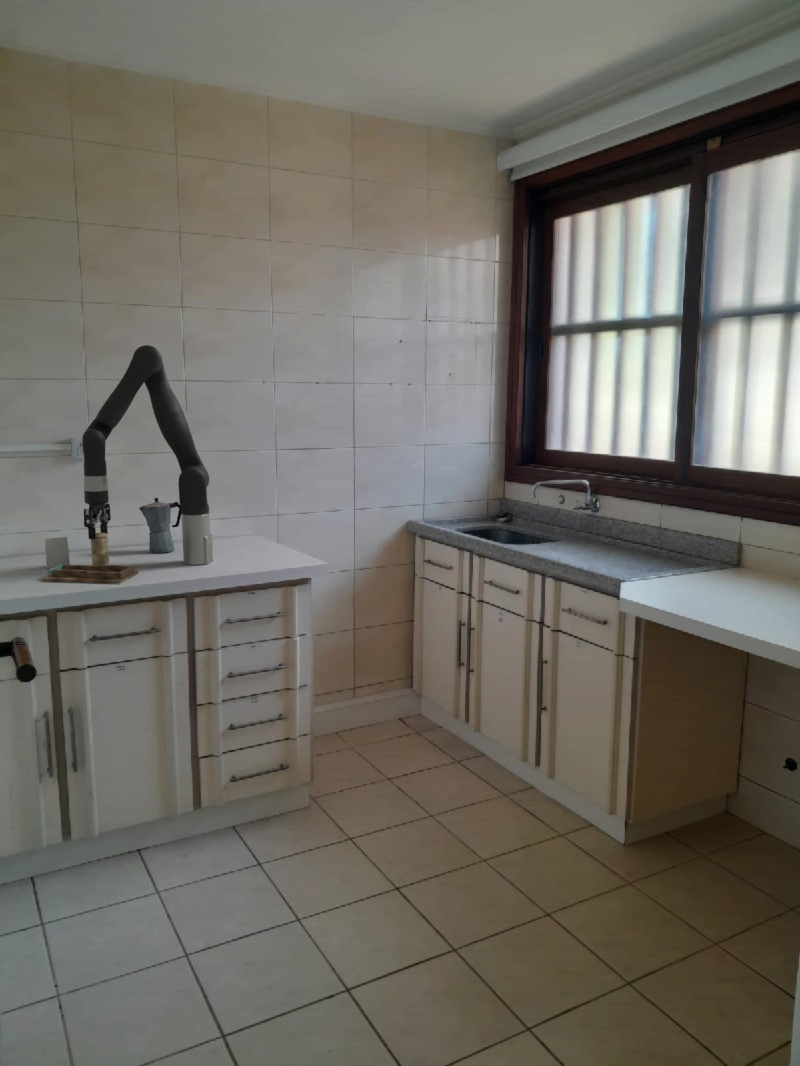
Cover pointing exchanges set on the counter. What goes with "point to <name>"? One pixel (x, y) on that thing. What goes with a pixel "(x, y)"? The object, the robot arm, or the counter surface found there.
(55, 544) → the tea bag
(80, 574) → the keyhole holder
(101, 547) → the maple peg
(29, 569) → the counter surface
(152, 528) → the moka pot
